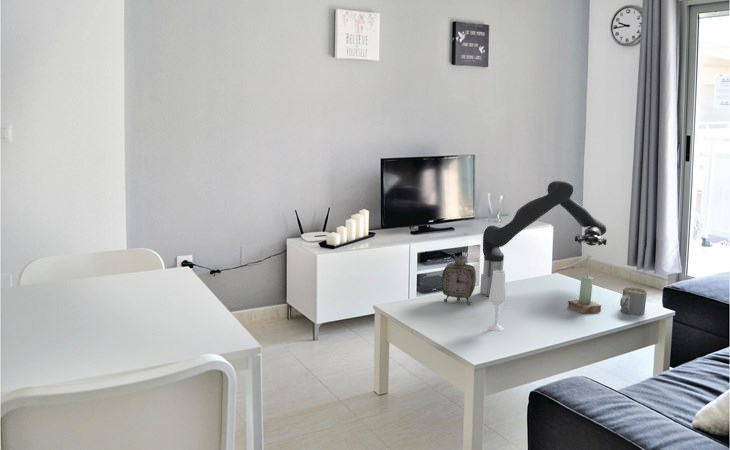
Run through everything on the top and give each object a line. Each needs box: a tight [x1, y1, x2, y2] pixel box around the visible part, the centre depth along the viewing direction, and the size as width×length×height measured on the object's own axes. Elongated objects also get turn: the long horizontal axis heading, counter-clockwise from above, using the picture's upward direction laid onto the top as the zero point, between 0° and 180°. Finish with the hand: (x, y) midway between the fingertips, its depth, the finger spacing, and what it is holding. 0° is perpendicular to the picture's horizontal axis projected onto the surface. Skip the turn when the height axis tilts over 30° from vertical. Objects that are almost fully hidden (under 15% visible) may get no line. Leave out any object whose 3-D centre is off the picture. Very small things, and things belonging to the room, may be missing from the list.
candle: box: [578, 275, 594, 305], centre depth 300 cm, size 5×5×13 cm
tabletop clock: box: [441, 248, 477, 306], centre depth 305 cm, size 14×9×25 cm, turn 73°
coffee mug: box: [619, 286, 648, 316], centre depth 299 cm, size 13×10×10 cm
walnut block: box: [567, 299, 602, 315], centre depth 301 cm, size 10×10×3 cm
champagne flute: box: [486, 270, 507, 332], centre depth 271 cm, size 7×7×24 cm
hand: (589, 242), depth 308 cm, fingers open, 8 cm apart
